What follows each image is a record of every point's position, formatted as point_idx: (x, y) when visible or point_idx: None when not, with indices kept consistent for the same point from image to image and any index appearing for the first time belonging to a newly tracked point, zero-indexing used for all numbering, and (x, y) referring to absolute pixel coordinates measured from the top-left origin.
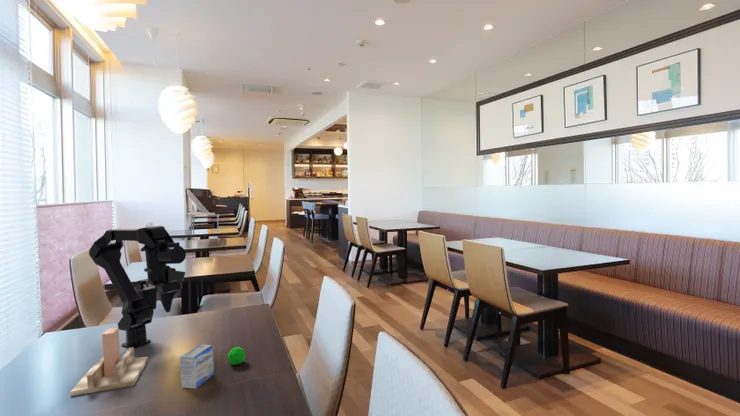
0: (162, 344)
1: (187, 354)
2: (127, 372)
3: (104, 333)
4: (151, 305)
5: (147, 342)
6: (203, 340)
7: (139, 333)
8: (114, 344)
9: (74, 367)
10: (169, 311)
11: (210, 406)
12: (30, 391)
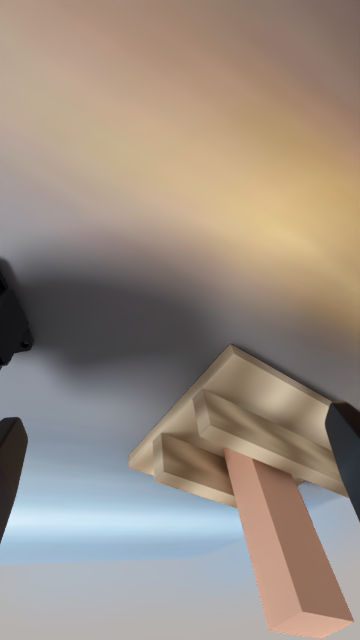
0: (91, 233)
1: None
2: (298, 426)
3: (321, 635)
4: (11, 492)
5: (3, 278)
6: (265, 18)
7: (7, 358)
8: (321, 554)
9: (65, 483)
10: (343, 404)
11: None
12: (146, 539)
